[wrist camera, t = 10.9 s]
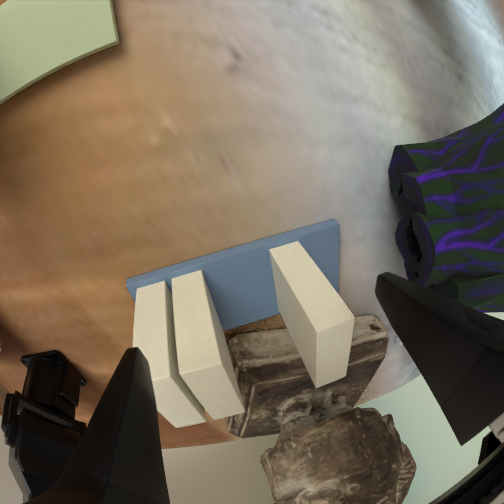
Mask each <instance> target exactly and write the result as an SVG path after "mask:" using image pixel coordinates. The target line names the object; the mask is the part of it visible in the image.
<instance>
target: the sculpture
mask: <svg viewBox="0 0 504 504" xmlns="http://www.w3.org/2000/svg"><path fill="white" fill-rule="evenodd" d="M388 341H389V339H388V336H387V329H386V327H385V326H384V324H383V323H382V322H381V321H380V319H379V318H378V317H377V316H376V315H364V316H358V317H355V320H354V328H353V335H352V342H351V348H350V355H349V361H348V367H347V372H346V376H345V377H343V378H340V379H338V380H336V381H333V382H331V383H328V384H326V385H323V386H321V387H318V388H316V387H315V385H314V383H313V381H312V379H311V377H310V375H309V373H308V371H307V369H306V366H305V364H304V362H303V360H302V358H301V356H300V354H299V352H298V350H297V348H296V346H295V344H294V341H293V339H292V337H291V335H290V333H289V331H288V329H276V330H266V331H258V332H252V333H246V334H240V335H236V336H235V337H233V338H232V339H230V340H229V341H228V346H227V347H228V351H229V354H230V358H231V362H232V365H233V369H234V373H235V376H236V380H237V383H238V387H239V390H240V394H241V397H242V401H243V404H244V408H245V412H244V413H240V414H236V415H232V416H229V417H225V421H226V425H227V428H228V430H229V433H231V434H233V435H236V436H238V437H241V438H250V437H256V436H264V435H271V434H277V433H280V435H279V438H278V440H277V443H276V445H275V447H274V448H270V449H268V450H266V451H265V453H264V454H263V455H262V456H261V464H262V467H263V469H264V471H265V473H266V475H267V478H268V481H269V484H270V488H271V492H272V495H273V498H274V500H275V502H276V503H274V504H402V502H403V501H404V499H405V497H406V495H407V493H408V491H409V488H410V485H411V482H412V480H413V478H414V475H415V471H416V463H415V461H414V459H413V457H412V455H411V453H410V451H409V449H408V448H407V446H406V445H405V444H404V443H403V442H401V440H400V435H399V433H398V432H397V430H396V428H395V427H394V422H393V417H392V415H391V414H388V415H385V416H383V417H382V416H381V414H380V413H379V412H378V411H377V410H376V409H375V408H359V407H357V408H353V407H354V405H355V404H356V402H357V401H358V399H359V398H360V396H361V394H362V393H363V391H364V390H365V388H366V387H367V385H368V384H369V382H370V381H371V379H372V377H373V376H374V374H375V372H376V371H377V369H378V368H379V366H380V364H381V363H382V361H383V359H384V358H385V353H386V349H387V344H388Z"/></svg>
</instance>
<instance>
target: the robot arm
mask: <svg viewBox="0 0 504 504" xmlns="http://www.w3.org/2000/svg"><path fill="white" fill-rule="evenodd" d="M375 294H376V297H377V299H378V301H379V303H380V305H381V307H382V308H383V310H384V312H385V314H386V316H387V318H388V320H389V322H390V324H391V326H392V328H393V329H394V331H395V332H396V334H397V335H398V337H399V339H400V340H401V342H402V343H403V345H404V346H405V348H406V350H407V351H408V353H409V354H410V356H411V358H412V359H413V361H414V362H415V364H416V366H417V367H418V369H419V371H420V372H421V374H422V376H423V377H424V379H425V381H426V383H427V384H428V386H429V387H430V389H431V391H432V393H433V395H434V396H435V398H436V400H437V402H438V403H439V405H440V407H441V409H442V411H443V413H444V415H445V416H446V418H447V420H448V422H449V424H450V426H451V427H452V430H453V432H454V433H455V435H456V437H457V439H458V441H459V443H460V445H461V446H462V445H464V444H465V443H466V442H468V441H469V440H471V439H472V438H473V437H474V436H476V435H477V434H478V433H480V432H481V431H482V430H483V429H485V428H486V427H487V426H489V427H490V429H491V431H490V432H489V433H488V434H487V435H486V436H485V437H484V438H483V441H482V446H481V452H480V456H479V461H478V464H479V465H478V466H477V467H476V468H475V469H474V470H473V471H472V472H470V473H469V474H468V475H467V476H466V477H464V478H463V479H462V480H461V481H460V482H458V483H457V484H455V485H454V486H453V487H452V488H450V489H449V490H448V491H446V492H445V493H443V494H442V495H441V496H439V497H438V498H436V499H435V500H434V501H432V502H430V503H429V504H504V320H501V319H498V318H495V317H492V316H490V315H487V314H485V313H482V312H480V311H477V310H475V309H473V308H470V307H468V306H466V305H462V304H461V303H459V302H457V301H455V300H452V299H450V298H448V297H446V296H443V295H441V294H439V293H436V292H434V291H432V290H430V289H427V288H425V287H423V286H420V285H418V284H416V283H413V282H411V281H409V280H406V279H404V278H401V277H399V276H397V275H394V274H392V273H390V272H384V273H382V274H379V275H378V277H377V281H376V288H375ZM20 361H21V362H22V363H23V364H24V365H25V366H26V367H27V369H28V370H27V374H26V378H25V382H24V386H23V391H22V395H21V394H20V393H19V392H18V391H15V393H14V394H10V393H7V394H6V398H5V402H4V407H3V413H2V422H1V428H2V430H3V432H4V437H5V444H6V445H8V446H10V450H9V467H10V469H11V471H12V473H13V475H14V477H15V479H16V481H17V483H18V485H19V487H20V489H21V491H22V493H23V504H170V500H169V494H168V489H167V484H166V477H165V471H164V465H163V458H162V451H161V443H160V435H159V426H158V416H157V406H156V399H155V394H154V389H153V383H152V378H151V372H150V366H149V363H148V360H147V359H146V357H145V356H144V354H143V353H142V351H141V350H140V349H139V348H138V347H132V348H128V349H127V350H126V351H125V353H124V355H123V357H122V359H121V360H120V362H119V364H118V366H117V368H116V370H115V372H114V374H113V376H112V377H111V379H110V381H109V383H108V385H107V387H106V389H105V391H104V393H103V395H102V397H101V399H100V401H99V403H98V405H97V407H96V409H95V411H94V413H93V415H92V417H91V419H90V422H89V424H88V427H87V426H86V423H84V422H79V421H77V420H75V409H76V407H78V402H79V393H80V387H83V386H86V385H87V381H86V380H85V379H84V378H83V377H82V376H81V375H80V374H79V373H78V372H77V371H76V370H75V369H74V368H73V367H72V366H71V365H70V363H69V362H68V361H67V360H66V359H65V358H64V357H63V356H62V355H61V354H60V352H58V351H57V350H52V351H47V352H42V353H37V354H32V355H27V356H22V357H21V359H20ZM17 413H18V414H20V415H17Z"/></svg>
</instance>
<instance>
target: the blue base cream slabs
mask: <svg viewBox="0 0 504 504" xmlns="http://www.w3.org/2000/svg"><path fill="white" fill-rule="evenodd" d="M296 241H298V242H299V243H300V244H301V245H302V247H303V248H304V249H305V251H306V252H307V253H308V255H309V256H310V257H311V258H312V260H313V261H314V262H315V264H316V265H317V266H318V268H319V269H320V270H321V272H322V273H323V274H324V276H325V277H326V278H327V280H328V281H329V282H330V284H331V285H332V286H333V288H334V289H335V290H336V292H337V293H338V289H339V223H338V222H337V221H336V220H335V219H331V220H327V221H324V222H320V223H317V224H313V225H310V226H306V227H303V228H299V229H295V230H292V231H288V232H285V233H281V234H278V235H274V236H271V237H267V238H264V239H260V240H257V241H253V242H250V243H246V244H243V245H239V246H236V247H233V248H229V249H226V250H222V251H219V252H215V253H212V254H208V255H205V256H202V257H198V258H195V259H191V260H188V261H185V262H181V263H178V264H174V265H171V266H168V267H164V268H161V269H157V270H154V271H151V272H147V273H144V274H141V275H137V276H134V277H131V278H127V282H126V287H127V289H128V291H129V292H130V294H131V296H132V298H133V300H134V302H135V315H134V330H133V347H138V348H139V349H140V350H141V351H142V353H143V354H144V356H145V357H146V359H147V360H148V363H149V366H150V372H151V378H152V383H153V389H154V394H155V399H156V406H157V411H159V412H160V413H161V414H162V415H163V416H164V417H165V418H166V419H167V420H168V421H169V422H170V423H171V424H172V425H173V426H174V427H176V428H179V427H184V426H189V425H194V424H199V423H203V422H206V416H205V411H204V408H205V410H206V411H207V412H208V414H209V415H210V416H211V417H212V419H213V420H217V419H221V418H225V417H229V416H232V415H236V414H240V413H244V412H245V408H244V404H243V401H242V397H241V394H240V390H239V387H238V383H237V380H236V376H235V373H234V369H233V365H232V362H231V358H230V354H229V351H228V347H227V343H226V339H225V335H224V331H226V330H229V329H232V328H236V327H239V326H242V325H246V324H249V323H252V322H255V321H259V320H262V319H265V318H268V317H271V316H274V315H277V314H280V312H279V310H278V303H277V297H276V291H275V284H274V278H273V272H272V266H271V259H270V253H269V249H272V248H276V247H279V246H282V245H286V244H289V243H293V242H296Z"/></svg>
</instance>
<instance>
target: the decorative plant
mask: <svg viewBox="0 0 504 504" xmlns="http://www.w3.org/2000/svg"><path fill="white" fill-rule="evenodd" d="M388 172H389V178H390V189H391V192H392V193H393V194H394V195H398V197H399V206H400V209H401V214H402V218H401V220H400V222H399V224H398V227H397V230H396V233H395V236H396V244H397V246H398V248H399V251H400V253H401V255H402V257H403V259H404V266H405V270H406V274H407V278H408V280H409V281H411V282H413V283H416V284H418V285H420V286H423V287H425V288H427V289H430V290H432V291H434V292H436V293H439V294H441V295H443V296H446V297H448V298H450V299H452V300H455V301H457V302H459V303H461V304H462V305H466V306H468V307H470V308H473V309H475V310H477V311H480V312H482V313H486V312H504V104H503V105H501V106H500V107H499V108H498V109H497V110H495V111H494V112H493V113H492V114H490V115H489V116H487V117H486V118H484V119H482V120H481V121H479V122H477V123H476V124H473V125H471V126H468V127H466V128H464V129H461V130H459V131H457V132H455V133H452V134H450V135H448V136H446V137H444V138H441V139H437V140H434V141H430V142H427V143H417V144H407V145H397V146H395V148H394V152H393V156H392V159H391V163H390V167H389V170H388Z"/></svg>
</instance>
